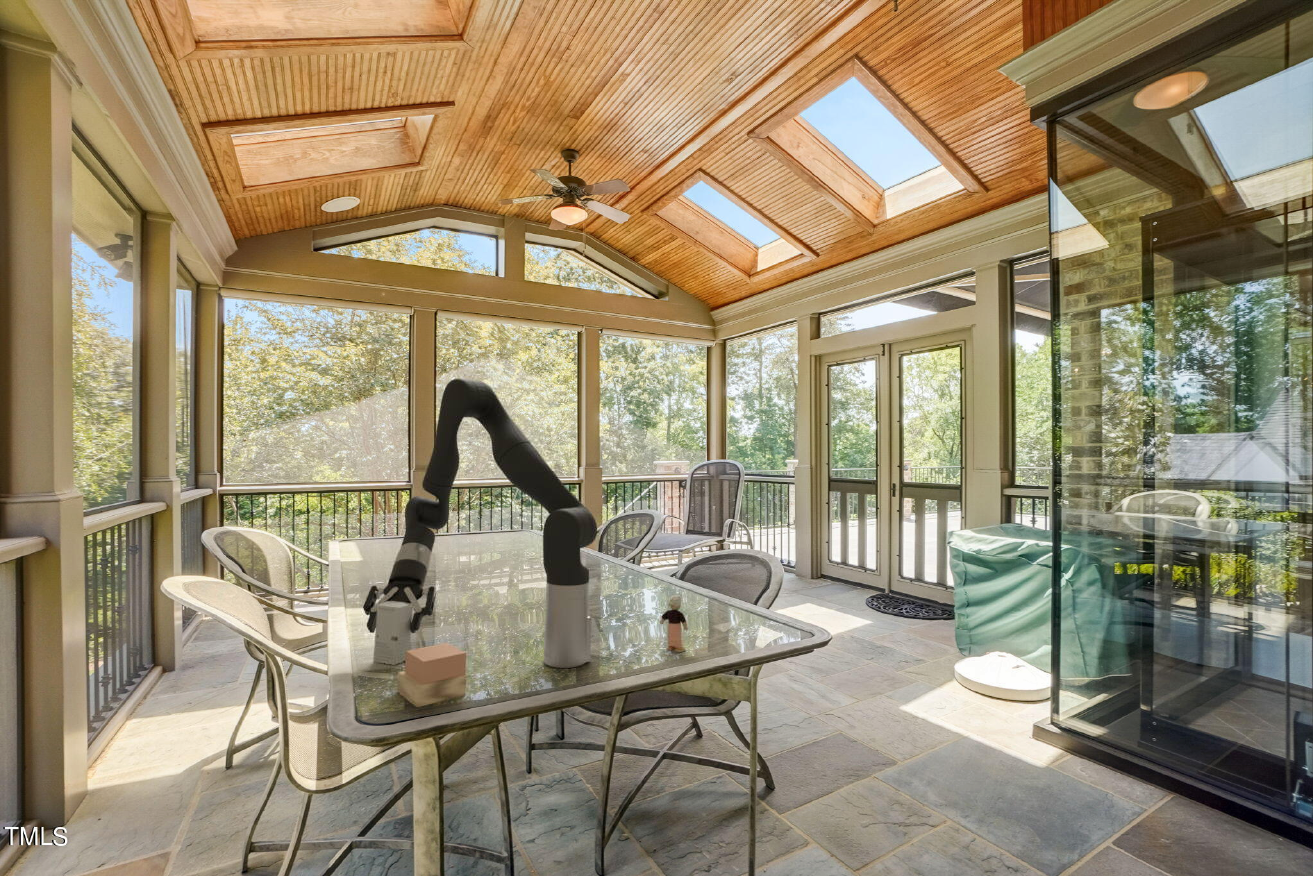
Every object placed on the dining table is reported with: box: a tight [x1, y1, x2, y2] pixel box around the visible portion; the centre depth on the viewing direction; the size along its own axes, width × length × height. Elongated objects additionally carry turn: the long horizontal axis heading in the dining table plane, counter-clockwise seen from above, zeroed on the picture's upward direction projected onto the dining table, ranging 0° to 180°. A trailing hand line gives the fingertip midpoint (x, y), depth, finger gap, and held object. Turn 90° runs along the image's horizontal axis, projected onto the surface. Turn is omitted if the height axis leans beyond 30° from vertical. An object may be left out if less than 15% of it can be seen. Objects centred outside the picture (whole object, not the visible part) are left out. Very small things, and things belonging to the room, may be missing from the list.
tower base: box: [397, 670, 467, 708], centre depth 113 cm, size 9×9×4 cm
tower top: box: [404, 642, 467, 685], centre depth 113 cm, size 8×8×4 cm
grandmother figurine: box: [659, 594, 689, 653], centre depth 144 cm, size 8×4×13 cm, turn 65°
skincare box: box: [373, 601, 413, 666], centre depth 130 cm, size 6×4×12 cm
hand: (391, 631), depth 129 cm, fingers open, 8 cm apart
